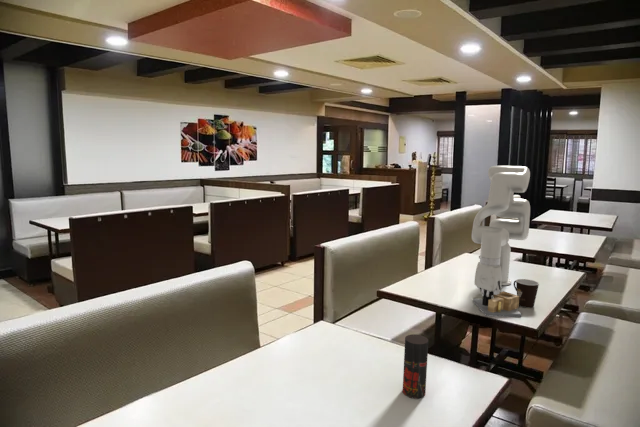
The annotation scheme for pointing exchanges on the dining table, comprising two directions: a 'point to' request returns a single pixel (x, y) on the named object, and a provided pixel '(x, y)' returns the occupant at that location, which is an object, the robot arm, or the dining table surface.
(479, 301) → the board
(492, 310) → the tan wooden block
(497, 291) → the robot arm
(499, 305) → the stop pin
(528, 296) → the coffee mug
